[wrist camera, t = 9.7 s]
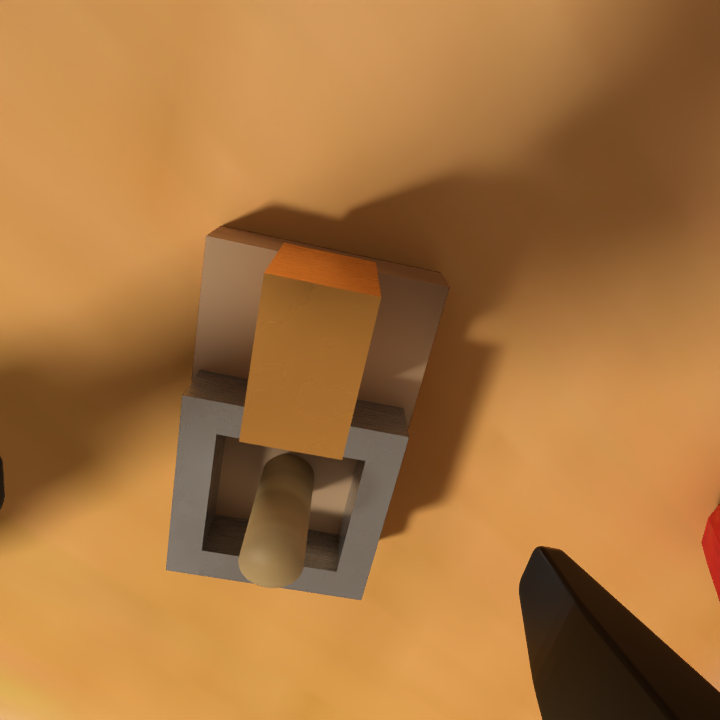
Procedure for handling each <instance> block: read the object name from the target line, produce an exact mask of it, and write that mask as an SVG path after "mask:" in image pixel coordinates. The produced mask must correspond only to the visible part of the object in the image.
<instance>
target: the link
mask: <svg viewBox="0 0 720 720" xmlns="http://www.w3.org/2000/svg"><path fill="white" fill-rule="evenodd" d="M380 301H381V292H380V285H379V279H378V273H377V267H376V262H372V261H368V260H363V259H358V258H354V257H349V256H344V255H340V254H335V253H330V252H326V251H321V250H316V249H312V248H307V247H302V246H298V245H293V244H288V243H283V245H282V246H281V248H280V249H279V251H278V253H277V254H276V256H275V257H274V259H273V260H272V262H271V263H270V265H269V266H268V268H267V269H266V271H265V272H264V276H263V283H262V290H261V296H260V303H259V310H258V317H257V323H256V330H255V337H254V344H253V351H252V357H251V364H250V371H249V378H248V379H247V378H242V377H237V376H231V375H226V374H221V373H216V372H210V371H205V370H199V371H198V373H197V374H196V376H195V377H194V379H193V380H192V382H191V383H190V385H189V386H188V388H187V389H186V391H185V392H184V394H183V395H182V406H181V416H180V427H179V437H178V448H177V458H176V469H175V479H174V490H173V501H172V511H171V522H170V532H169V543H168V553H167V564H166V570H169V571H175V572H182V573H188V574H195V575H201V576H208V577H214V578H221V579H227V580H234V581H240V582H247V583H252V582H250V581H249V580H248V579H247V578H245V576H244V575H243V574H242V572H241V571H240V568H239V564H238V559H239V555H240V551H241V548H242V544H243V540H244V537H245V533H246V530H247V526H248V522H249V520H248V519H242V518H236V517H230V516H224V515H218V514H215V511H216V504H217V496H218V489H219V482H220V474H221V467H222V460H223V452H224V445H225V437H226V436H229V437H234V438H240V439H239V442H244V443H249V444H255V445H260V446H266V447H272V448H277V449H283V450H289V451H294V452H300V453H305V454H311V455H317V456H322V457H328V458H333V459H339V460H342V459H343V457H346V458H352V459H357V463H356V466H355V470H354V474H353V478H352V482H351V486H350V490H349V494H348V498H347V502H346V506H345V510H344V514H343V518H342V522H341V526H340V529H339V533H338V534H333V533H326V532H320V531H314V530H308V534H307V542H306V551H305V559H304V567H303V571H302V573H301V575H300V577H299V578H298V579H297V580H296V581H294V582H293V583H291V584H289V585H287V586H284V587H280V588H285V589H292V590H298V591H305V592H311V593H318V594H324V595H331V596H337V597H344V598H350V599H357V600H361V599H362V596H363V593H364V589H365V586H366V582H367V579H368V576H369V572H370V569H371V565H372V562H373V559H374V555H375V552H376V548H377V545H378V542H379V538H380V535H381V531H382V528H383V525H384V521H385V518H386V514H387V511H388V508H389V504H390V501H391V497H392V494H393V490H394V487H395V484H396V480H397V477H398V473H399V470H400V467H401V463H402V460H403V456H404V453H405V450H406V446H407V443H408V439H409V434H408V428H407V422H406V417H405V411H404V408H400V407H395V406H390V405H384V404H379V403H374V402H369V401H363V400H358V399H357V396H358V392H359V388H360V384H361V380H362V376H363V372H364V367H365V363H366V359H367V355H368V351H369V347H370V343H371V338H372V334H373V330H374V326H375V322H376V318H377V313H378V309H379V305H380ZM253 584H254V583H253Z"/></svg>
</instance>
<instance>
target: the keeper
mask: <svg viewBox="0 0 720 720" xmlns="http://www.w3.org/2000/svg"><path fill="white" fill-rule="evenodd" d="M283 243H288V244H293V245H298V246H302V247H307V248H312V249H316V250H321V251H326V252H330V253H335V254H340V255H344V256H349V257H354V258H358V259H363V260H368V261H372V262H376V267H377V273H378V279H379V285H380V292H381V301H380V305H379V309H378V313H377V318H376V322H375V326H374V330H373V334H372V338H371V343H370V347H369V351H368V355H367V359H366V363H365V367H364V372H363V376H362V380H361V384H360V388H359V392H358V396H357V399H358V400H363V401H369V402H374V403H379V404H384V405H390V406H395V407H400V408H404V411H405V417H406V422H407V428H409V424H410V421H411V417H412V414H413V410H414V407H415V404H416V400H417V397H418V393H419V390H420V386H421V383H422V380H423V376H424V373H425V369H426V366H427V362H428V359H429V355H430V352H431V349H432V345H433V342H434V338H435V335H436V331H437V328H438V325H439V321H440V318H441V314H442V311H443V307H444V304H445V300H446V297H447V294H448V290H449V286H448V285H447V283H446V281H445V280H444V278H443V276H442V275H441V273H439V272H434V271H429V270H425V269H420V268H415V267H411V266H406V265H401V264H397V263H392V262H387V261H383V260H378V259H373V258H369V257H364V256H360V255H355V254H350V253H346V252H341V251H336V250H332V249H327V248H322V247H318V246H313V245H308V244H304V243H299V242H294V241H290V240H285V239H280V238H276V237H271V236H266V235H262V234H257V233H252V232H248V231H243V230H238V229H234V228H229V227H225V226H220V227H219V228H217V229H216V230H214V231H213V232H211V233H210V234H208V235H207V236H206V243H205V253H204V263H203V273H202V283H201V293H200V303H199V313H198V322H197V332H196V342H195V352H194V362H193V372H192V380H193V379H194V377H195V376H196V374H197V373H198V371H199V370H205V371H210V372H216V373H221V374H226V375H231V376H237V377H242V378H247V379H248V378H249V371H250V364H251V357H252V351H253V344H254V337H255V330H256V323H257V317H258V310H259V303H260V296H261V290H262V283H263V276H264V272H265V271H266V269H267V268H268V266H269V265H270V263H271V262H272V260H273V259H274V257H275V256H276V254H277V253H278V251H279V249H280V248H281V246H282V245H283ZM239 439H240V438H234V437H229V436H226V437H225V445H224V452H223V460H222V467H221V474H220V482H219V489H218V496H217V504H216V511H215V514H218V515H224V516H230V517H236V518H242V519H248V520H249V522H248V526H247V530H246V533H245V537H244V540H243V544H242V548H241V551H240V555H239V559H238V564H239V568H240V571H241V572H242V574H243V575H244V576H245V578H247V579H248V580H249V581H250V582H252V583H254V584H256V585H258V586H261V587H266V588H280V587H284V586H287V585H289V584H291V583H293V582H294V581H296V580H297V579H298V578H299V577H300V575H301V573H302V571H303V567H304V559H305V551H306V542H307V534H308V530H314V531H320V532H326V533H333V534H338V533H339V529H340V526H341V522H342V518H343V514H344V510H345V506H346V502H347V498H348V494H349V490H350V486H351V482H352V478H353V474H354V470H355V466H356V463H357V459H352V458H346V457H343V459H342V460H339V459H333V458H328V457H322V456H317V455H311V454H305V453H300V452H294V451H289V450H283V449H277V448H272V447H266V446H260V445H255V444H249V443H244V442H239Z"/></svg>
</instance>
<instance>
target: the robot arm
mask: <svg viewBox="0 0 720 720" xmlns="http://www.w3.org/2000/svg"><path fill="white" fill-rule="evenodd" d="M4 497H5V490H4V473H3V461H2V458H1V456H0V509H1V507H2V505H3V502H4ZM519 596H520V603H521V609H522V616H523V622H524V629H525V635H526V642H527V648H528V655H529V661H530V668H531V673H532V679H533V684H534V688H535V692H536V697H537V701H538V705H539V709H540V712H541V716H542V720H720V692H719V691H718V690H717V689H715V688H714V687H713V686H712V685H711V684H710V683H709V682H708V681H707V680H705V679H704V678H703V677H702V676H701V675H700V674H699V673H698V672H697V671H695V670H694V669H693V668H692V667H691V666H690V665H689V664H688V663H687V662H685V661H684V660H683V659H682V658H681V657H680V656H679V655H678V654H677V653H675V652H674V651H673V650H672V649H671V648H670V647H669V646H668V645H667V644H665V643H664V642H663V641H662V640H661V639H660V638H659V637H658V636H657V635H655V634H654V633H653V632H652V631H651V630H650V629H649V628H648V627H647V626H645V625H644V624H643V623H642V622H641V621H640V620H639V619H638V618H637V617H635V616H634V615H633V614H632V613H631V612H630V611H629V610H628V609H627V608H625V607H624V606H623V605H622V604H621V603H620V602H619V601H618V600H617V599H615V598H614V597H613V596H612V595H611V594H610V593H609V592H608V591H607V590H605V589H604V588H603V587H602V586H601V585H600V584H599V583H598V582H597V581H595V580H594V579H593V578H592V577H591V576H590V575H589V574H588V573H587V572H585V571H584V570H583V569H582V568H581V567H580V566H579V565H578V564H577V563H575V562H574V561H573V560H572V559H571V558H570V557H569V556H568V555H567V554H565V553H564V552H563V551H562V550H560V549H556V548H550V547H544V546H539V547H537V548H535V549H534V551H533V553H532V555H531V557H530V560H529V562H528V564H527V566H526V569H525V571H524V573H523V575H522V577H521V580H520V584H519Z"/></svg>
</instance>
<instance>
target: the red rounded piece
mask: <svg viewBox="0 0 720 720" xmlns="http://www.w3.org/2000/svg"><path fill="white" fill-rule="evenodd" d="M701 543H702V546H703V550H704V554H705V557H706V561H707V565H708V568H709V571H710V574H711V577H712V580H713V583H714V586H715V589H716V592H717V595H718V598H719V601H720V504H719V506H718V507H717V508H716V509H715V510H714V512H713V513H712V514H711V515H710V517H709V518H708V521H707V525H706V528H705V532H704V535H703V539H702V542H701Z"/></svg>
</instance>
